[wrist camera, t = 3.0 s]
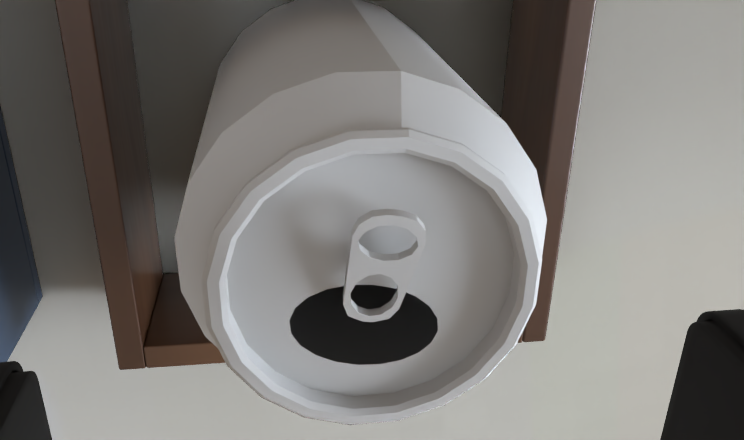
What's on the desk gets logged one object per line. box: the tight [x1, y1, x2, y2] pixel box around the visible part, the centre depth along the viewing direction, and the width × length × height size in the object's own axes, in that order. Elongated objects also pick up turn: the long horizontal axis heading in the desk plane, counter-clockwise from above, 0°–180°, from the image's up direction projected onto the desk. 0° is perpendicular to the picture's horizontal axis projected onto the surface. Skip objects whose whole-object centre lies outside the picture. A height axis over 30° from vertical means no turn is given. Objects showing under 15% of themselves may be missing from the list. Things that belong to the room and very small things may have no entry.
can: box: [174, 0, 547, 425], centre depth 18 cm, size 8×8×12 cm
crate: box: [55, 0, 596, 370], centre depth 21 cm, size 14×14×4 cm
